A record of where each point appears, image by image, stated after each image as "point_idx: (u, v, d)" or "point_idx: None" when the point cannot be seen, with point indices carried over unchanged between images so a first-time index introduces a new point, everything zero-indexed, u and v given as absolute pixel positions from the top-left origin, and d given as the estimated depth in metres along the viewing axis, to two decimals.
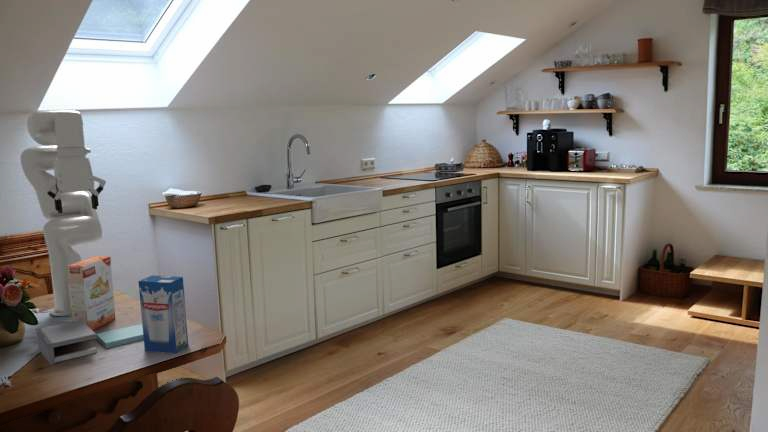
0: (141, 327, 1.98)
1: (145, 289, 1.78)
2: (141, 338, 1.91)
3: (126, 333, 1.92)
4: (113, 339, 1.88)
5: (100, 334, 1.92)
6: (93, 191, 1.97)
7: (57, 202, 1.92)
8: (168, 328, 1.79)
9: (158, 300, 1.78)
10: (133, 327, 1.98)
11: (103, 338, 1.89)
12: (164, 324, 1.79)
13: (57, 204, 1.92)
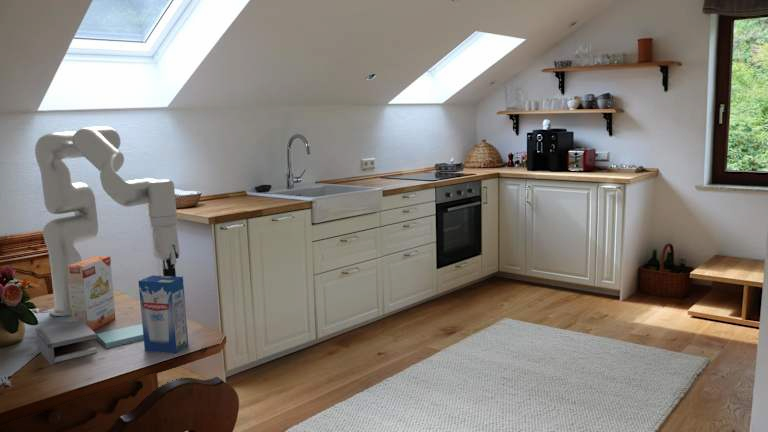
0: (141, 327, 1.98)
1: (145, 288, 1.78)
2: (141, 338, 1.91)
3: (126, 333, 1.92)
4: (113, 339, 1.88)
5: (100, 334, 1.92)
6: None
7: None
8: (168, 328, 1.79)
9: (158, 300, 1.78)
10: (133, 327, 1.98)
11: (103, 338, 1.89)
12: (164, 324, 1.79)
13: None
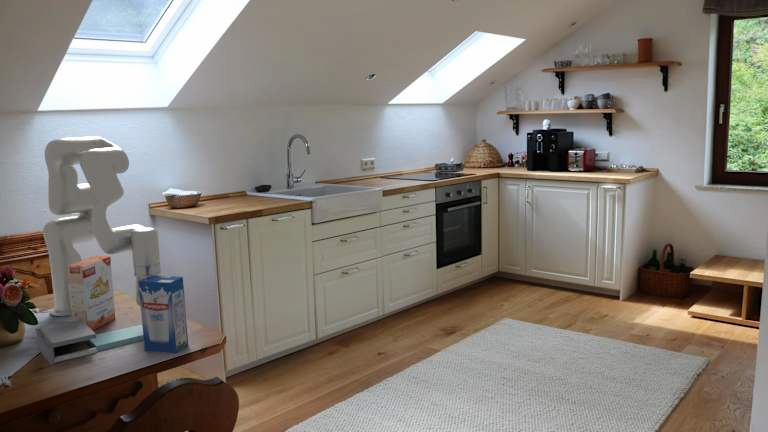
0: (132, 329, 1.96)
1: (145, 289, 1.78)
2: (132, 341, 1.89)
3: (117, 336, 1.90)
4: (104, 342, 1.86)
5: None
6: None
7: None
8: (168, 328, 1.79)
9: (158, 300, 1.78)
10: (124, 330, 1.96)
11: (93, 341, 1.87)
12: (164, 324, 1.79)
13: None
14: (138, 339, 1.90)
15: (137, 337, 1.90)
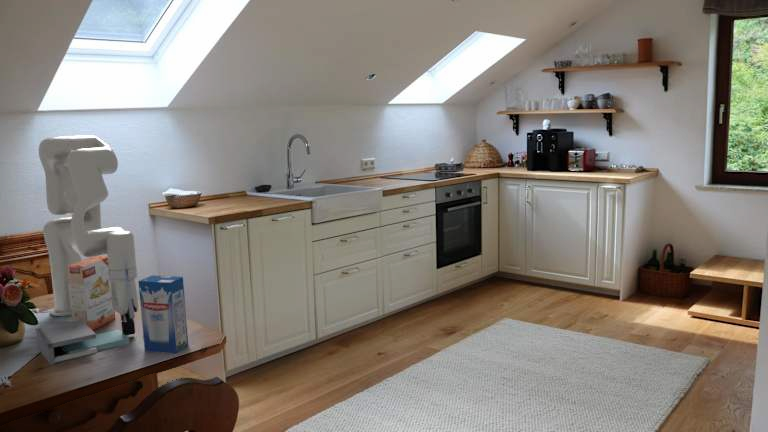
0: (107, 335, 1.91)
1: (145, 289, 1.78)
2: (107, 346, 1.85)
3: (91, 341, 1.86)
4: (77, 348, 1.81)
5: None
6: None
7: (131, 323, 1.93)
8: (168, 328, 1.79)
9: (158, 300, 1.78)
10: (99, 335, 1.91)
11: (67, 347, 1.82)
12: (164, 324, 1.79)
13: None
14: (113, 345, 1.86)
15: (112, 343, 1.86)
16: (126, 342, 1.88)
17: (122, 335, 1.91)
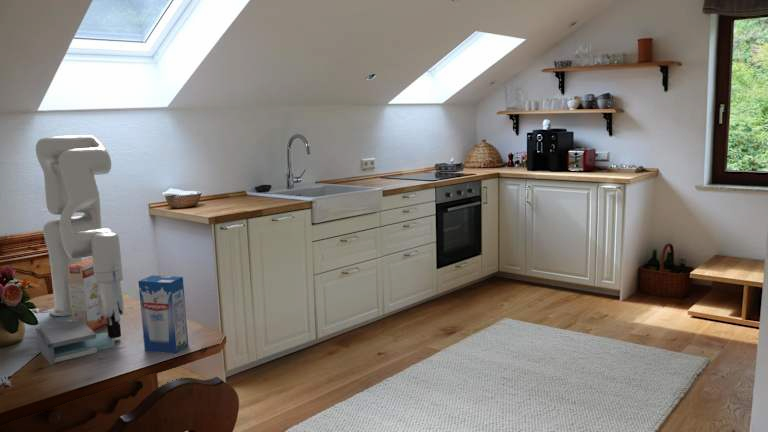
0: None
1: (145, 289, 1.78)
2: None
3: (76, 345, 1.84)
4: (61, 351, 1.79)
5: None
6: None
7: (117, 326, 1.90)
8: (168, 328, 1.79)
9: (158, 300, 1.78)
10: None
11: None
12: (164, 324, 1.79)
13: None
14: (98, 348, 1.83)
15: (97, 346, 1.83)
16: (111, 345, 1.86)
17: (107, 338, 1.88)
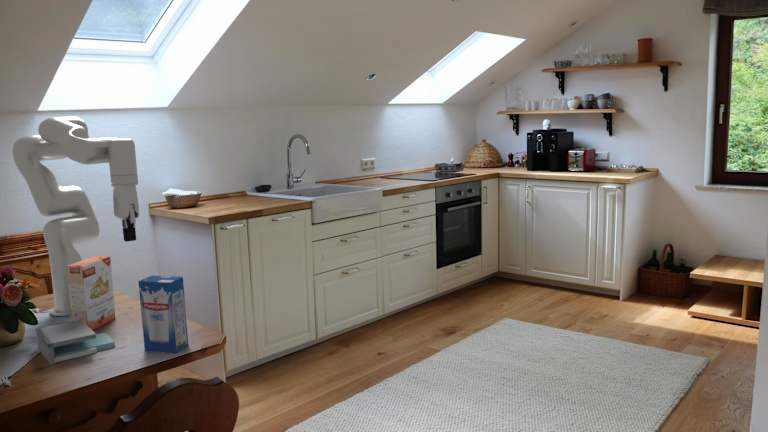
0: None
1: (145, 289, 1.78)
2: None
3: (76, 345, 1.84)
4: (61, 351, 1.79)
5: None
6: None
7: (133, 230, 1.98)
8: (168, 328, 1.79)
9: (158, 300, 1.78)
10: None
11: None
12: (164, 324, 1.79)
13: None
14: (98, 348, 1.83)
15: (97, 347, 1.83)
16: (111, 346, 1.86)
17: (108, 338, 1.88)
